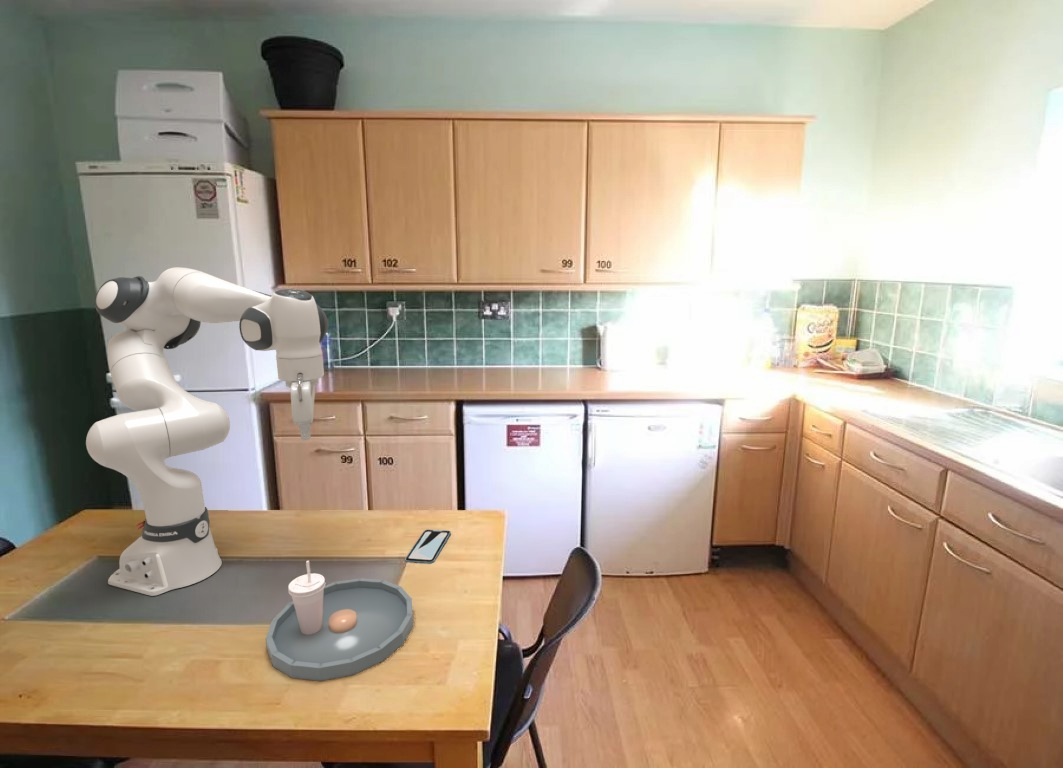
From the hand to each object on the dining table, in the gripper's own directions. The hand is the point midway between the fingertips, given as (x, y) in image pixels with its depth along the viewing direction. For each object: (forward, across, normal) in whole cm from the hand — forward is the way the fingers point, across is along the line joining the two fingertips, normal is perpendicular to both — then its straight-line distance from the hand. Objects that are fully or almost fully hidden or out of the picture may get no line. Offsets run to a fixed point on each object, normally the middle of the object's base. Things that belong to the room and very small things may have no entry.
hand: (306, 432), depth 114 cm
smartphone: (+34, +2, -25) cm, 43 cm away
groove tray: (+33, -23, -4) cm, 40 cm away
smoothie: (+32, -22, +1) cm, 39 cm away
